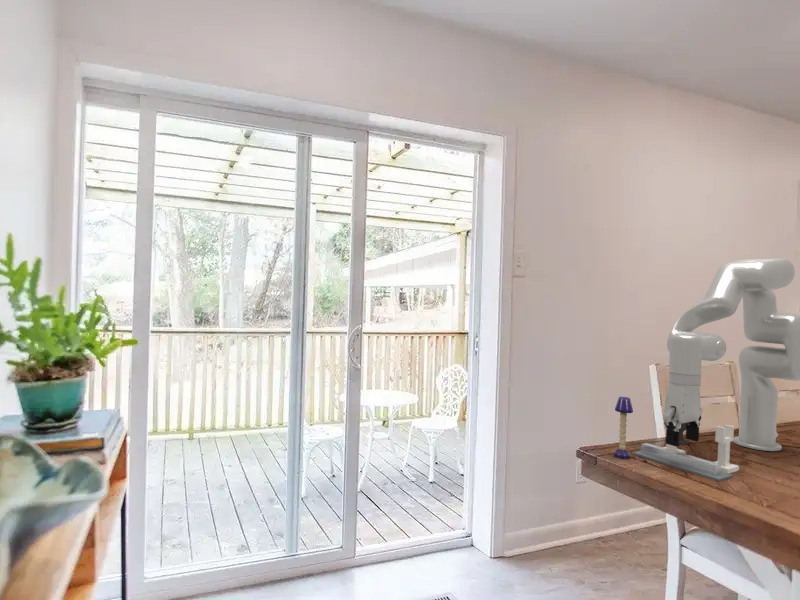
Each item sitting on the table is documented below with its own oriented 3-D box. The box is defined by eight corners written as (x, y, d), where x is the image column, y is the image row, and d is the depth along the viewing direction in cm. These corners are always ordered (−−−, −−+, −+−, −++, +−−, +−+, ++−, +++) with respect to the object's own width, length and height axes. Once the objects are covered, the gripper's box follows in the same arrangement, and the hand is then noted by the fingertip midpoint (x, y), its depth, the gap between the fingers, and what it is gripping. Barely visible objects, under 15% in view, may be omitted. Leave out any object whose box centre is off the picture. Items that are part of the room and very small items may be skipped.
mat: (647, 451, 146) (647, 449, 146) (733, 477, 127) (733, 474, 127) (633, 454, 143) (633, 452, 143) (719, 481, 123) (719, 479, 123)
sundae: (696, 446, 154) (698, 397, 154) (672, 443, 156) (675, 396, 156) (688, 440, 161) (690, 394, 161) (665, 438, 162) (668, 392, 162)
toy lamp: (609, 453, 143) (612, 395, 143) (625, 453, 143) (627, 395, 143) (618, 458, 138) (621, 398, 138) (634, 459, 138) (637, 399, 138)
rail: (646, 451, 144) (646, 442, 144) (720, 474, 127) (721, 464, 127) (641, 452, 143) (641, 444, 143) (715, 475, 126) (716, 465, 126)
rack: (668, 450, 149) (670, 411, 148) (738, 470, 132) (740, 427, 132) (656, 452, 145) (658, 413, 145) (727, 473, 129) (729, 429, 129)
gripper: (687, 375, 142) (685, 434, 143) (652, 380, 133) (650, 443, 134) (715, 379, 136) (713, 441, 136) (680, 384, 127) (678, 451, 127)
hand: (682, 442), depth 135 cm, fingers open, 9 cm apart
